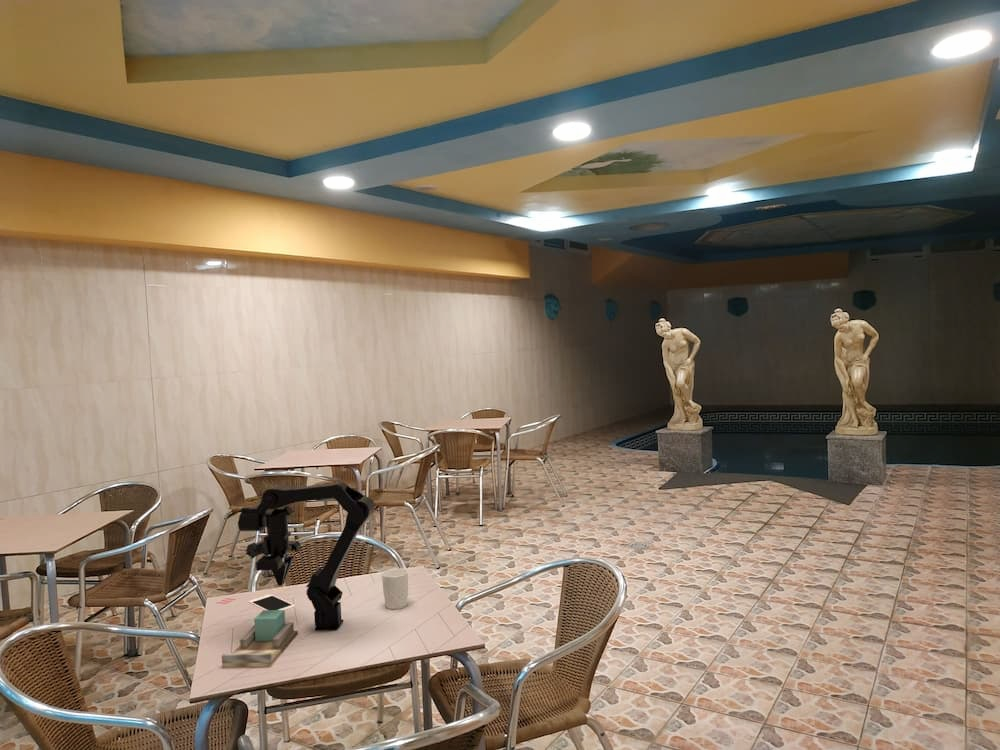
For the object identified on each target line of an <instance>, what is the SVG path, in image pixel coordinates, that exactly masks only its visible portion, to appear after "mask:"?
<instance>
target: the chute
mask: <svg viewBox="0 0 1000 750" xmlns="http://www.w3.org/2000/svg"><path fill="white" fill-rule="evenodd" d="M294 626H295V625H294V622H293V621H289V622H288V621H287V622H286V623H285V626H284V627H283V628H282V629H281V630H280V631H279V632H278V633H277V634H276V636H275V637H274V638H273V639H272V641H256V640H255V625H254V626H253V627H251V629H249V630H248V631H247V632H246V633H245V634H244V635H243V636H242V637H241V638H240V639H239V642H240V643H239V644H240V645H239V646H237V648H235V650H234V651H233V652H232V653H222V655H221V667H222V668H253V667H254V668H256V667H257V668H258V667H259V668H260V667H261V668H262V667H263V668H266V667H268V668H269V667H270V668H271V667H272V666H273V665H274V663H275V662H276V661H277V660H278V658H279V657H281V655H282V654H283V653H284V651H285V650H286V649H287V648H288V647H289V645H290V644H291V643H292V642H293V641H294V639H295V638H296V637H297V636H298V635H299V630H295V629H294Z"/></svg>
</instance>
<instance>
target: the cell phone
mask: <svg viewBox="0 0 1000 750" xmlns="http://www.w3.org/2000/svg"><path fill="white" fill-rule="evenodd" d="M247 602H248V603H249V602H250V603H249V604H251V603H252V604H251V605H253V604H254V605H253V606H255V605H256V606H255V607H257V606H258V607H257V608H259V607H260V609H261V608H262V609H261V610H263V609H264V610H285V611H286V609H287V610H289V608H290V609H292V607H293V608H295V607H296V604H293V603H291V602H289V601H287V600H284V599H282V598H281V597H278V596H276V595H274V594H272V593H270V594H266V595H263V596H261V597H257V598H254V599H251V600H248V601H247Z"/></svg>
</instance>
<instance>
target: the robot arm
mask: <svg viewBox="0 0 1000 750" xmlns="http://www.w3.org/2000/svg"><path fill="white" fill-rule="evenodd" d="M261 495H262V496H261V502H260V503H259V505H258V506H257V507H256V506H254V507H251V506H243V507H242V508H241V509H240V512H241V513H239V516H238V521H237V526H238V527H237V528H238V529H239V531H240V532H262V531H264V529H265V528H266V535H265V536H264V538H263V539H262V540H260V541H258V542H252V543H249V544H248V545H246V549H245V551H246V552H245V554H246V556H248V557H250V559H255V558H256V557H258V556H261V555H263V556H262V557H261V558H259V559H258V560H257V561H256V562H255V570H256V571H271V572H272V575H273V576H274V579H275V581H276V583H277V584H276V585H277V587H282V586H283V585H284V583H285V581H286V579H287V576H288V573H289V571H290V568H291V565H292V563H293V561H294V559H295V555H290V552H291V551H295V553H299V552H300V551H301V549H302V547H301V545H302V544H301V543H300V542H299V540H289V539H290V537H291V535H292V532H291V531H289V522H288V521H289V518H288V517H289V516H291V515H293V514H294V513H296V512H295V510H294V509H293V508H291V507H290V505H291V504H294V503H297V502H298V503H299V502H309V501H318V500H319V501H320V500H326V499H328V500H329V499H334V500H335V501H336V502H337V503H338V504H339V506H340V507H341V508H342V509H343V510H344V511H345V512H346V513H347V514H346V518H345V525H344V528H343V530H342V532H341V533H340V535H339V538H338V540H337V541H336V544H335V545H334V547H333V549H332V551H331V553H330V555H329V557H328V558H327V561H326V562H325V565H324V566H323V568H322V567H319V568H318V569H316V571H315V572H313V573H312V575H311V577H310V580H309V583H307V585H306V586H305V587H306V588H307V589H306V595H307V596H306V597H307V599H308V600H309V601H310V602H311V603H312V606H313V609H314V613H313V615H314V626H315V627H314V631H337V630H339V628H340V627H341V626H342V624H343V623H344V619H343V618H342V606H341V604H342V602H341V601H340V600H342V596H343V591H342V590H341V589H340V588H338V586H336V583H337V579H338V573H339V571H340V568H341V566H342V564H343V562H344V560H345V558H346V557H347V555H348V553H349V551H350V550H351V547H352V546H353V544H354V542H355V539H356V537H357V535H358V533H359V531H360V530H361V529H362V528H363V527H364V525H365V524H366V523H367V521H369V519H370V518H371V516H372V515H373V514H374V513H375V511H376V504H375V501H374V499H372V498H371V497H369V496H365V495H364V494H363V493H361V492H360V491H358V490H357V489H354V488H352V487H350V485H348V484H347V483H345V482H344V481H337V482H334V483H324V484H315V485H306V486H305V485H304V486H294V485H289V484H288V485H287V484H276V485H274V486H272V487H270V488H268V489H266V490H265V491H264V492H263V493H262V494H261ZM283 507H284V508H283ZM269 510H272V511H269Z"/></svg>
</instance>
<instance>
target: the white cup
mask: <svg viewBox="0 0 1000 750" xmlns="http://www.w3.org/2000/svg"><path fill="white" fill-rule="evenodd" d="M381 581H382V591H383V597H384V607H385V608H387V609H390V610H399V609H402V608H405V607H407V606H408V604H409V603H408V602H409V601H408V597H409V571H408V570H407V568H401V567H400V568H391V569H387V570H385V571H383V572H382V573H381Z"/></svg>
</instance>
